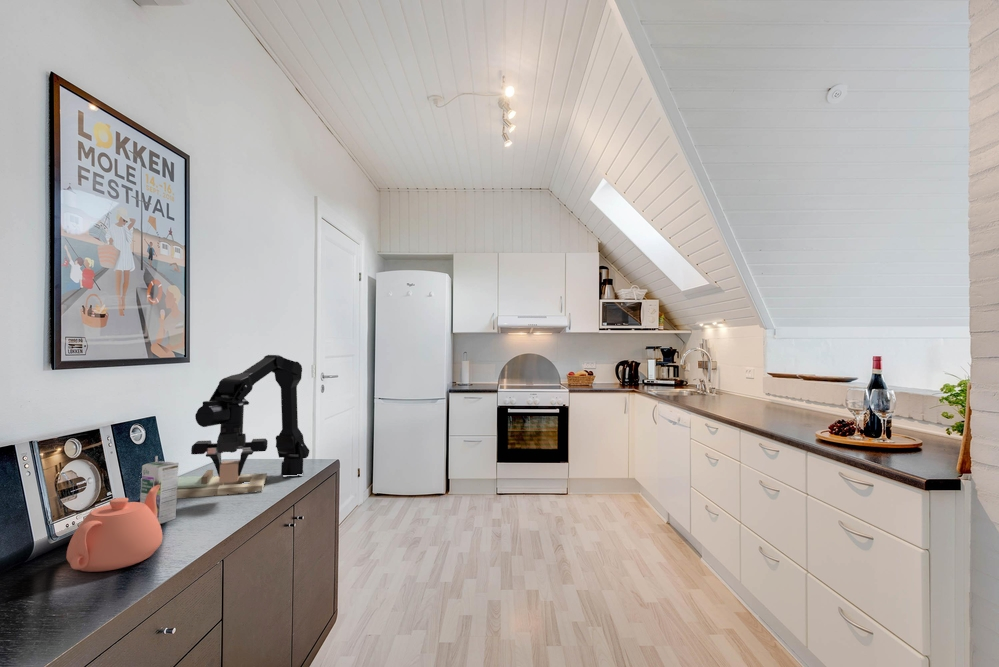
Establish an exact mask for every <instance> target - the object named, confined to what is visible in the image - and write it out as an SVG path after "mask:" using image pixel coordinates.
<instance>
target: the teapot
mask: <svg viewBox="0 0 999 667" xmlns="http://www.w3.org/2000/svg"><path fill="white" fill-rule="evenodd" d="M159 488H160V485H156V486H154V487H153V488H152V489H151V490H150V491H149V492H148V495H147V497H146V500H145V503H140V501H129V498H128V497H116V498H113V499H111V500H109V504H106V505H102V506H100V507H97V508H95V509H92V510H91V511H90V512H89V513H88V514H87V515H86V516H85V517H84V519H83V520H82V522H81V523H80V524H79V525H78V526H77V528H76V530H75V531H74V533H73V535H72V536H71V539H70V541H69V544H68V546H67V548H66V549H67V550H66V560H67V562H68V563H69V564H70V567H71V569H72V570H79V571H82V572H89V573H91V572H92V573H93V572H95V573H98V572H107V571H113V570H118V569H123V568H127V567H130V566H133V565H136V564H139V563H140V562H143V561H144V560H146V559H148V558H150V557H152V555H154V553H155V552H156V551H157V550H158V549H159V547H160V546H161V545H162V543H163V531H162V530H163V529H162V526H161V524H160V523H159V521H158V519H157V506H156V495H157V492H158V490H159Z"/></svg>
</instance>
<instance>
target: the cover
mask: <svg viewBox="0 0 999 667" xmlns="http://www.w3.org/2000/svg"><path fill="white" fill-rule="evenodd" d="M213 477H214V469H207V471H206V472H205V473H204V474H203V475H194V476H178V482H177V488H191V487H206V486H207V485H208V484H209V482H210V481H211V480H212V478H213Z"/></svg>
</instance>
